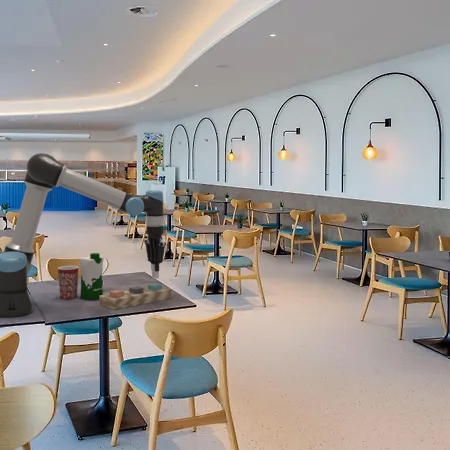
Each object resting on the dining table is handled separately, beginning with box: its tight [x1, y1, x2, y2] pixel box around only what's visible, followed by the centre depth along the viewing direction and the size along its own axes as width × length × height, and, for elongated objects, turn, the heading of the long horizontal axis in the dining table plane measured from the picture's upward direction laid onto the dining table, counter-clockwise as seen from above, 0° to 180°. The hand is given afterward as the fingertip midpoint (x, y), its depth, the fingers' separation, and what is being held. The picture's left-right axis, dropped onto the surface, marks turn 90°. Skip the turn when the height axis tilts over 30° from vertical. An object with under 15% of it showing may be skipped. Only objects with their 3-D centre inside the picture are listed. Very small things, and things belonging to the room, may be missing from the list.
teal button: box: [147, 282, 163, 291], centre depth 247 cm, size 4×4×3 cm
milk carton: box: [78, 252, 105, 301], centre depth 244 cm, size 9×9×20 cm
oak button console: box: [99, 286, 172, 311], centre depth 240 cm, size 30×11×4 cm, turn 135°
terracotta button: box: [109, 289, 125, 298], centre depth 233 cm, size 4×4×3 cm
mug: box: [56, 265, 80, 300], centre depth 247 cm, size 13×9×14 cm
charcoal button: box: [128, 285, 145, 294], centre depth 240 cm, size 4×4×3 cm
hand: (155, 278), depth 247 cm, fingers closed
